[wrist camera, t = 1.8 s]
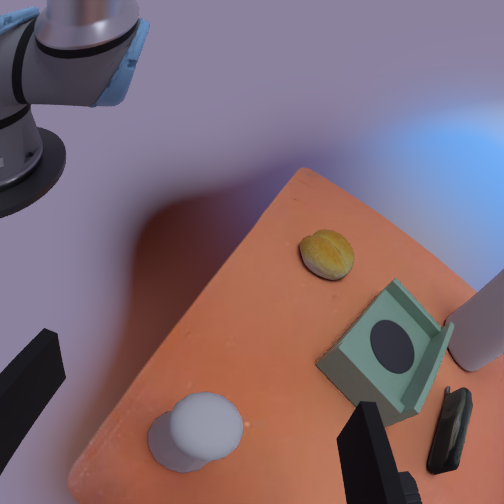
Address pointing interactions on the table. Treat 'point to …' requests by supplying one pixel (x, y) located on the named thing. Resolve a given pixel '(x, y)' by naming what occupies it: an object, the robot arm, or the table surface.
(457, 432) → the black stapler
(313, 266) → the bread roll
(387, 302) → the green tray with hole
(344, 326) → the table surface
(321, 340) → the table surface
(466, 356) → the cylinder vase
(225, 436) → the salt shaker
